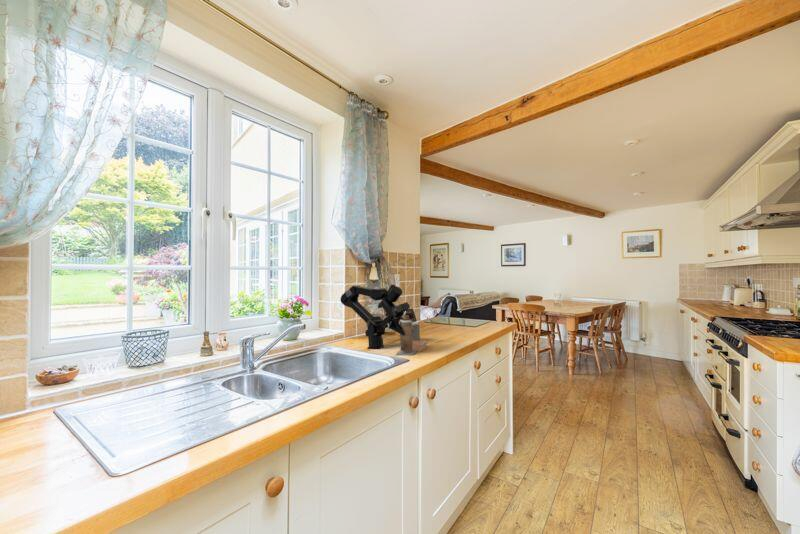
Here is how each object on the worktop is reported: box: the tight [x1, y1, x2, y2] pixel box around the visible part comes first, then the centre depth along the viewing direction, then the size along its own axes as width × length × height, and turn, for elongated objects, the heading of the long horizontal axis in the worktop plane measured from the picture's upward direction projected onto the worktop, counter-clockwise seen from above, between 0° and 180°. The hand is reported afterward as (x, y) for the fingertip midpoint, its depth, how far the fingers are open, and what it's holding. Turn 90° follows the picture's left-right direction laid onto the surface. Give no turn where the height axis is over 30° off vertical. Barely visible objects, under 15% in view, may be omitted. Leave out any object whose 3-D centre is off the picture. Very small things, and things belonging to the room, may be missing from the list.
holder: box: [412, 340, 428, 352], centre depth 166 cm, size 9×9×3 cm
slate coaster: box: [396, 349, 418, 356], centre depth 157 cm, size 8×8×1 cm
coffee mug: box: [412, 321, 421, 341], centre depth 184 cm, size 13×10×10 cm
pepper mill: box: [399, 314, 413, 351], centre depth 157 cm, size 6×6×16 cm
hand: (408, 333), depth 157 cm, fingers closed on pepper mill, 6 cm apart
